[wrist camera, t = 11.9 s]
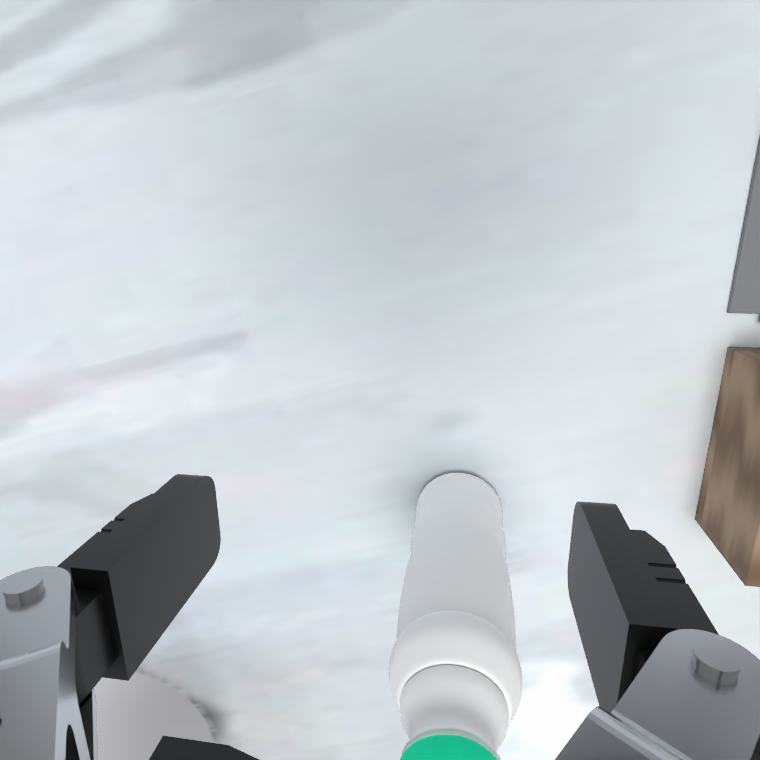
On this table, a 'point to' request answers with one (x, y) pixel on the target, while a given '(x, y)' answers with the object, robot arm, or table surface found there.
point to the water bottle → (456, 627)
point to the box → (735, 467)
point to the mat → (748, 254)
